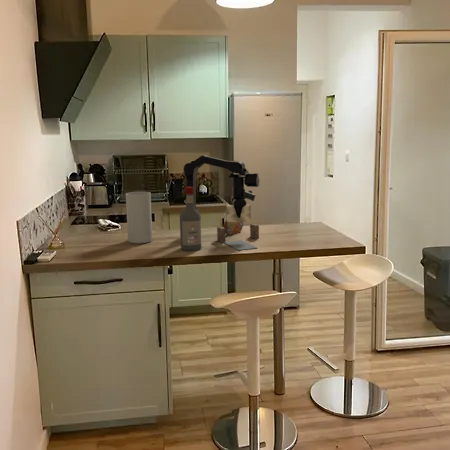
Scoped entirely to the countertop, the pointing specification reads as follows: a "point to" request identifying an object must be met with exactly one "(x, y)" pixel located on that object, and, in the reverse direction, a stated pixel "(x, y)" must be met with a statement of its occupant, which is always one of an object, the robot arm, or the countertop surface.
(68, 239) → the countertop surface
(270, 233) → the countertop surface
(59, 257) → the countertop surface
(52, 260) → the countertop surface
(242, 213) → the block
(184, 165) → the robot arm
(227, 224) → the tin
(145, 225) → the cylinder vase
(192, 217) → the liquor
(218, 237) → the holder
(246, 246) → the mat
